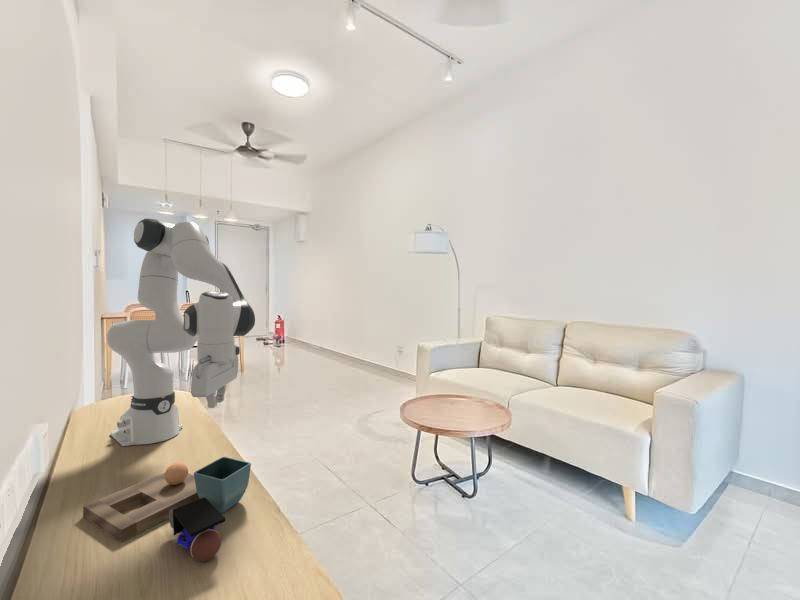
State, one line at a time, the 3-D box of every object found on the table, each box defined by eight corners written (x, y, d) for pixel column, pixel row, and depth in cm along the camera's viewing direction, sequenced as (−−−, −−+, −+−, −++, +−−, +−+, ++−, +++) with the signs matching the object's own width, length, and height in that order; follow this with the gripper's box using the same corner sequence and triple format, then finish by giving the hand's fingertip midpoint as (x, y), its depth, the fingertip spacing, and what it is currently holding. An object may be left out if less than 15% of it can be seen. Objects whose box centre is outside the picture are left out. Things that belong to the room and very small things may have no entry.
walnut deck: (83, 517, 81) (83, 505, 81) (175, 477, 98) (175, 467, 98) (121, 542, 73) (121, 529, 73) (214, 494, 91) (214, 484, 91)
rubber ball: (160, 485, 90) (159, 464, 89) (180, 476, 94) (180, 456, 94) (172, 491, 87) (172, 470, 87) (192, 481, 92) (192, 461, 91)
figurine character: (165, 542, 76) (191, 574, 65) (164, 504, 76) (189, 529, 66) (201, 527, 81) (230, 554, 70) (200, 491, 81) (228, 512, 71)
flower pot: (222, 521, 81) (222, 480, 80) (192, 511, 84) (192, 472, 83) (252, 499, 89) (252, 462, 88) (223, 492, 92) (223, 456, 92)
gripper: (210, 360, 89) (210, 417, 89) (242, 347, 109) (242, 393, 110) (183, 360, 88) (183, 418, 89) (220, 346, 109) (220, 393, 109)
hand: (216, 404), depth 99 cm, fingers open, 3 cm apart
